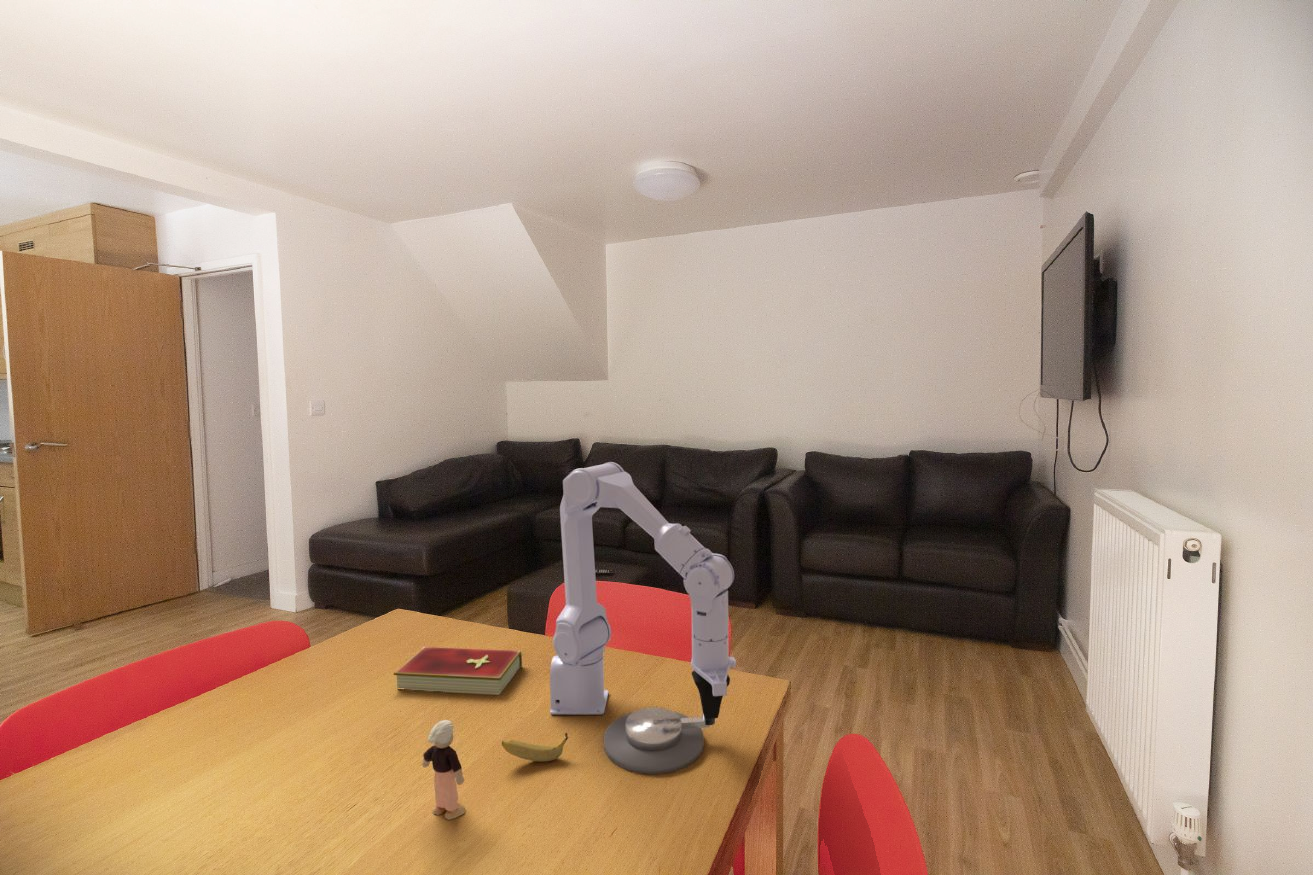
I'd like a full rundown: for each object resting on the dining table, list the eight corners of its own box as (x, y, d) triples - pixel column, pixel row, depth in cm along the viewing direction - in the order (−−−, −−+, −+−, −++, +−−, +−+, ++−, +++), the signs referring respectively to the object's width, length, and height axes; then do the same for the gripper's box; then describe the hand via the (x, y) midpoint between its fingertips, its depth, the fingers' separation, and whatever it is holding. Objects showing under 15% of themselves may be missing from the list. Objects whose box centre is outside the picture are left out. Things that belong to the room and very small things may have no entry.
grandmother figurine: (478, 805, 87) (474, 718, 86) (461, 824, 84) (456, 734, 82) (432, 794, 90) (427, 709, 88) (413, 812, 86) (408, 724, 85)
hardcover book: (425, 664, 132) (424, 644, 131) (522, 668, 129) (521, 648, 129) (394, 692, 120) (393, 671, 120) (500, 698, 117) (499, 676, 117)
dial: (626, 752, 97) (625, 711, 96) (624, 720, 106) (624, 683, 105) (719, 746, 98) (719, 706, 97) (710, 715, 107) (710, 678, 106)
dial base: (598, 773, 94) (598, 764, 94) (609, 715, 110) (609, 708, 110) (705, 774, 93) (705, 765, 93) (701, 716, 109) (701, 708, 109)
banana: (501, 769, 95) (500, 744, 95) (503, 759, 98) (502, 735, 97) (569, 762, 97) (568, 737, 96) (568, 753, 99) (568, 729, 99)
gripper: (746, 652, 92) (747, 740, 93) (724, 615, 106) (725, 692, 107) (699, 655, 91) (700, 744, 92) (683, 617, 105) (684, 695, 107)
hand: (710, 717), depth 100 cm, fingers closed
